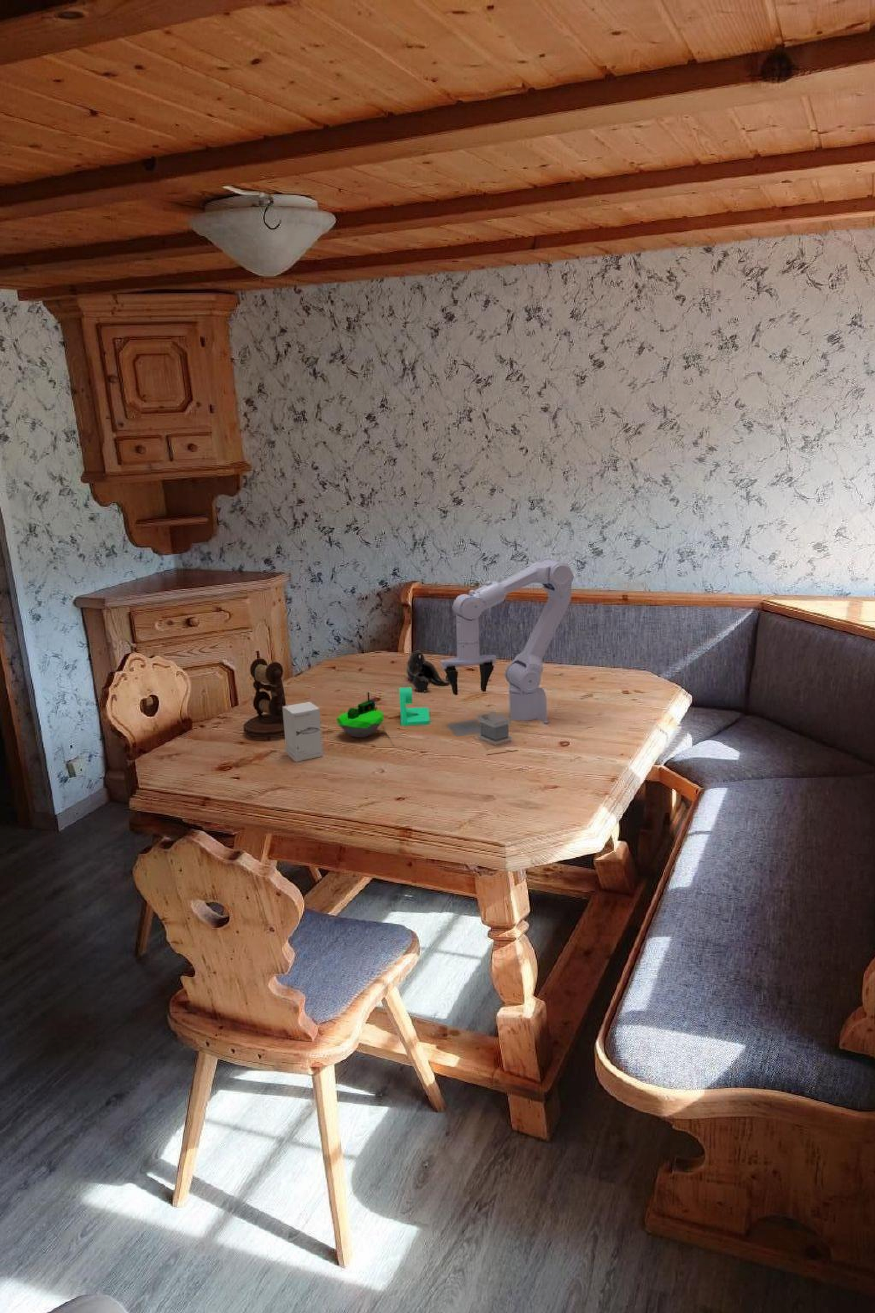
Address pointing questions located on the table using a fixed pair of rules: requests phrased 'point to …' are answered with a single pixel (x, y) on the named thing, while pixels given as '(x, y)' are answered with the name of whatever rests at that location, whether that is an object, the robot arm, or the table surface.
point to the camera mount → (412, 710)
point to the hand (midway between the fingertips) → (469, 692)
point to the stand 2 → (489, 746)
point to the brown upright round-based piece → (267, 700)
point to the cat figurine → (422, 672)
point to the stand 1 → (465, 728)
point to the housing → (494, 729)
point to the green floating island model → (361, 719)
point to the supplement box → (302, 731)
